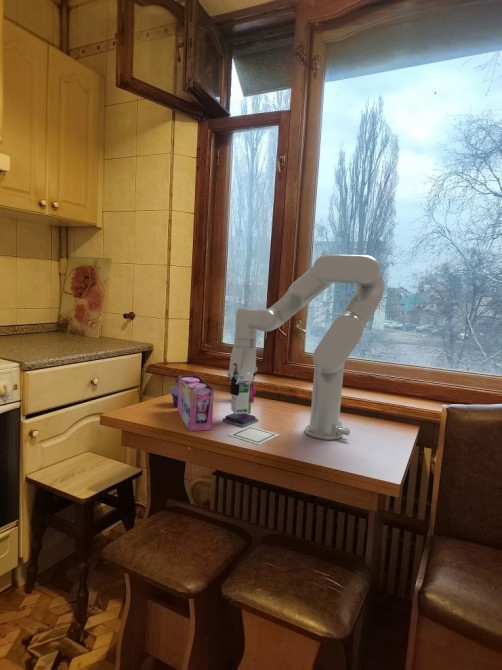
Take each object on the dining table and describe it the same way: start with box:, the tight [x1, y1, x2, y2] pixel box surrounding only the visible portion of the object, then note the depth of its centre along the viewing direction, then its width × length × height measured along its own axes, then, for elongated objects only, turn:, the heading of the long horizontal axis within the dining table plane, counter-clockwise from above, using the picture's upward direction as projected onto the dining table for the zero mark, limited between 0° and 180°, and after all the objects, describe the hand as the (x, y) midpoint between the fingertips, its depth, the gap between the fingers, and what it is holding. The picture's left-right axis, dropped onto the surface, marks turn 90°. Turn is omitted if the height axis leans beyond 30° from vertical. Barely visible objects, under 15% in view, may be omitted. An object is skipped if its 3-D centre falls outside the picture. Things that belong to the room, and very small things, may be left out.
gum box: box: [177, 375, 215, 432], centre depth 142 cm, size 24×8×14 cm, turn 20°
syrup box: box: [230, 372, 253, 415], centre depth 143 cm, size 6×6×14 cm
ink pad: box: [222, 412, 259, 428], centre depth 144 cm, size 9×9×2 cm
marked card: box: [228, 425, 280, 446], centre depth 131 cm, size 12×12×1 cm
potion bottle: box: [170, 374, 186, 408], centre depth 159 cm, size 9×9×12 cm
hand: (241, 392), depth 143 cm, fingers closed on syrup box, 7 cm apart
